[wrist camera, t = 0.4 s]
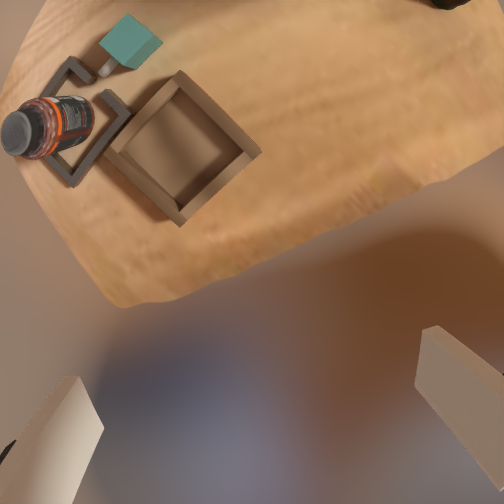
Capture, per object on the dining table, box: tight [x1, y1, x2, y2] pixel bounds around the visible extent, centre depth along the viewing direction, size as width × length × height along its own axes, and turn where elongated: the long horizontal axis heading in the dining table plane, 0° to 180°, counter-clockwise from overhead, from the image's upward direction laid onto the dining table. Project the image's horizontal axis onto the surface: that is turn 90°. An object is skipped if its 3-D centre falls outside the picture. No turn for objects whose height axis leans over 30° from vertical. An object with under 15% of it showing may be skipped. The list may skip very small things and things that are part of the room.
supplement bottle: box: [1, 96, 95, 160], centre depth 23 cm, size 6×6×11 cm
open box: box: [103, 70, 262, 227], centre depth 29 cm, size 11×11×3 cm
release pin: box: [98, 14, 163, 78], centre depth 24 cm, size 6×4×4 cm, turn 132°
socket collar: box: [40, 56, 136, 188], centre depth 27 cm, size 11×11×2 cm
